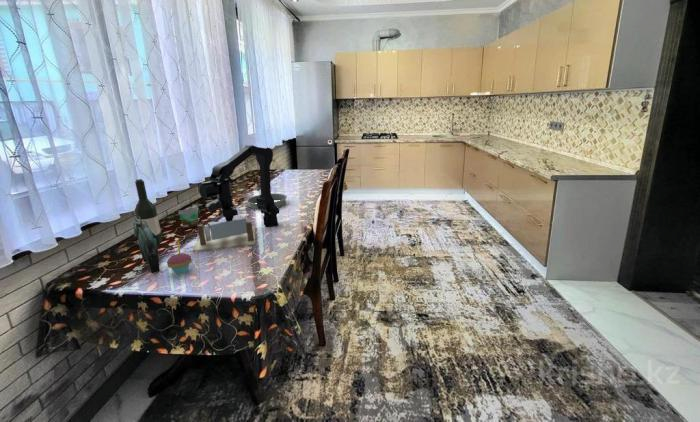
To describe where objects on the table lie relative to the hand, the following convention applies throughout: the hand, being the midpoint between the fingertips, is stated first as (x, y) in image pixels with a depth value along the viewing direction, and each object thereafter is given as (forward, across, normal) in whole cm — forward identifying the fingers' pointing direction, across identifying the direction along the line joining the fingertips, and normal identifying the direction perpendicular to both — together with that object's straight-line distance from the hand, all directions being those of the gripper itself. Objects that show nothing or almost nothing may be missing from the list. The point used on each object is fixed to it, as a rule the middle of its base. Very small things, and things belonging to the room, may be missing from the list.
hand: (229, 225), depth 164 cm
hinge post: (+6, +2, -12) cm, 14 cm away
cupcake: (+6, +26, -23) cm, 35 cm away
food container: (+7, -33, -13) cm, 36 cm away
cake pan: (+8, -49, +31) cm, 59 cm away
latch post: (+6, +10, +7) cm, 14 cm away
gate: (+4, +3, -2) cm, 5 cm away
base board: (+6, -1, -2) cm, 7 cm away
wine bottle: (+7, -17, -33) cm, 38 cm away
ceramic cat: (+6, +12, -33) cm, 36 cm away
